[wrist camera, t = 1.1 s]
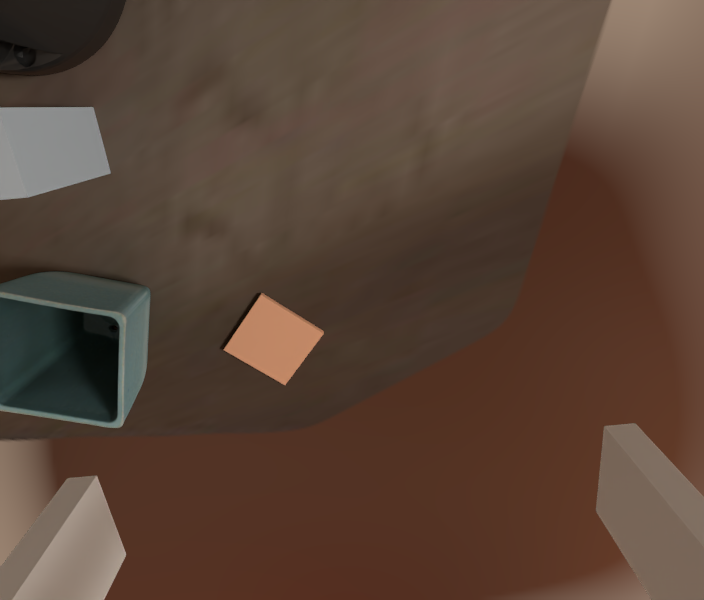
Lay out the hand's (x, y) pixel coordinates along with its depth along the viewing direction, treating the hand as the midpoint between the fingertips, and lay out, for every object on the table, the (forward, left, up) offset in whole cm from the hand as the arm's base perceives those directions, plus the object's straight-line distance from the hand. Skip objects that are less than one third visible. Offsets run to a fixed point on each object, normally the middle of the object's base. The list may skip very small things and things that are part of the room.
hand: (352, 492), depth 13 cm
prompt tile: (0, -11, -27) cm, 29 cm away
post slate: (-20, -6, -27) cm, 34 cm away
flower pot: (-12, -16, -27) cm, 33 cm away
